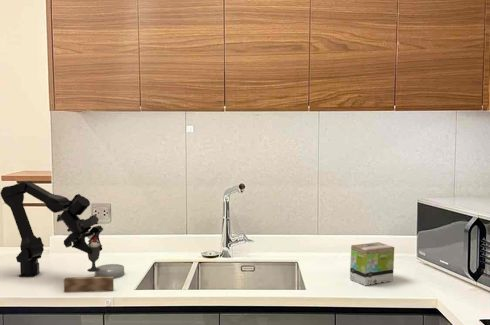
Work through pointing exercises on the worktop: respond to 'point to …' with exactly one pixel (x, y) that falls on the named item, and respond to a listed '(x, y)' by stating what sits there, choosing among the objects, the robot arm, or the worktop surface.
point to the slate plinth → (110, 271)
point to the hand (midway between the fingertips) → (96, 251)
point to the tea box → (371, 263)
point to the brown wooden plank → (88, 284)
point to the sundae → (94, 253)
